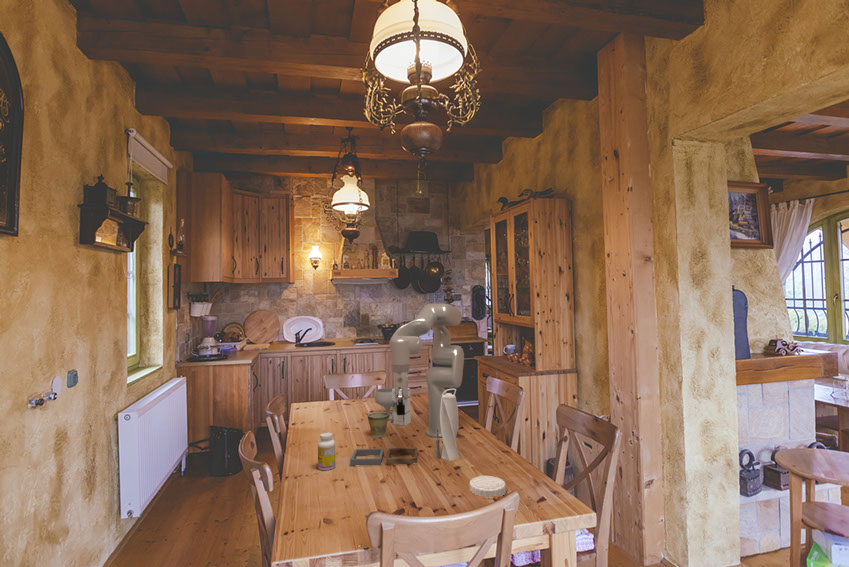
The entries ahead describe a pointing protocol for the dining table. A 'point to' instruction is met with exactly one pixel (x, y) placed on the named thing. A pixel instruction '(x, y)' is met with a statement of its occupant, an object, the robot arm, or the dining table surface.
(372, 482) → the dining table surface
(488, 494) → the mooncake
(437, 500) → the dining table surface
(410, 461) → the walnut frame
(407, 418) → the syrup box
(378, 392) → the chalice
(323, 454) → the supplement bottle
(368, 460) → the grey frame
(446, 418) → the skyscraper
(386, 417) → the ceramic cup
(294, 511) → the dining table surface
